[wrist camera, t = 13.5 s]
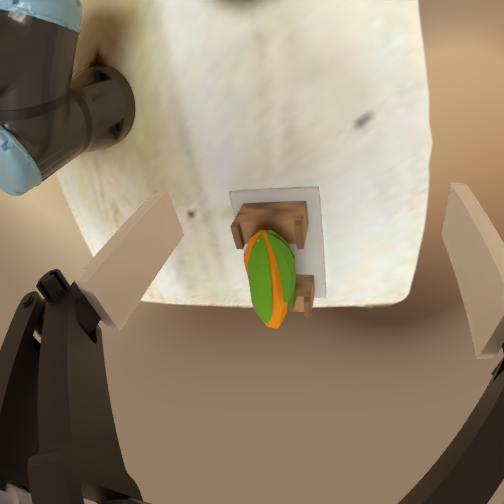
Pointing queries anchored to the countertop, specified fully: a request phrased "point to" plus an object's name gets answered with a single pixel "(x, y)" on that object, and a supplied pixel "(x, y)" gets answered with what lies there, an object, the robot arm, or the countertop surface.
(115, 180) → the countertop surface
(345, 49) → the countertop surface
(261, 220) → the wooden brackets on board
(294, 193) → the mat
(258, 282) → the corn
